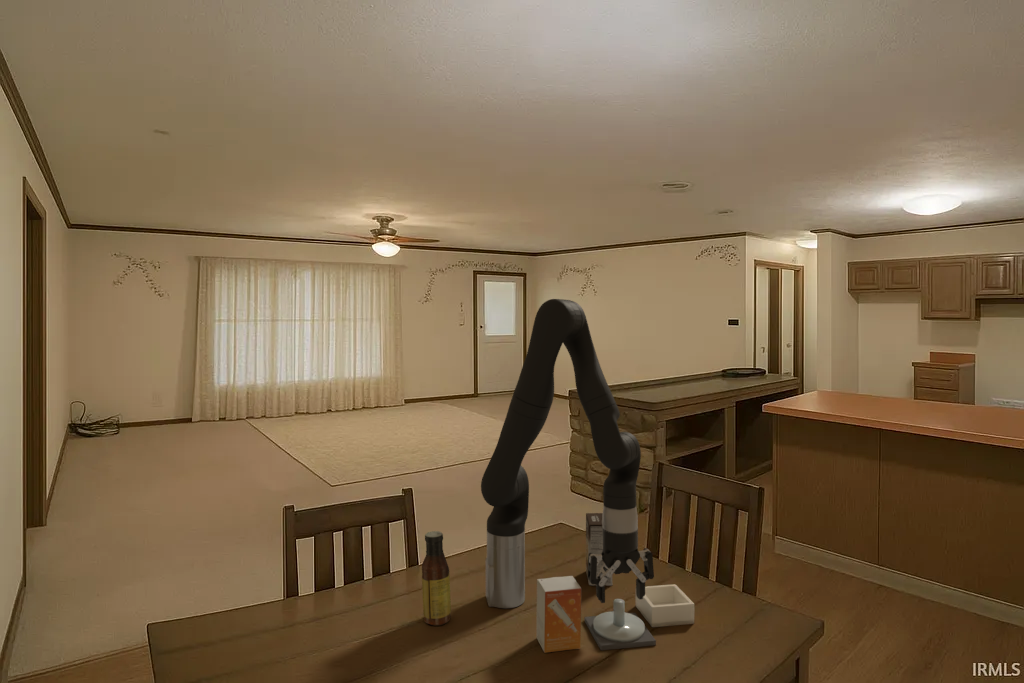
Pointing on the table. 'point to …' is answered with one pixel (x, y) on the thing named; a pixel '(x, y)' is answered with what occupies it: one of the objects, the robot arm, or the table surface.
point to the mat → (609, 644)
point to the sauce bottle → (435, 581)
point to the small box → (558, 613)
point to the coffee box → (595, 541)
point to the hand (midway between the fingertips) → (620, 599)
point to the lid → (619, 624)
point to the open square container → (666, 606)
